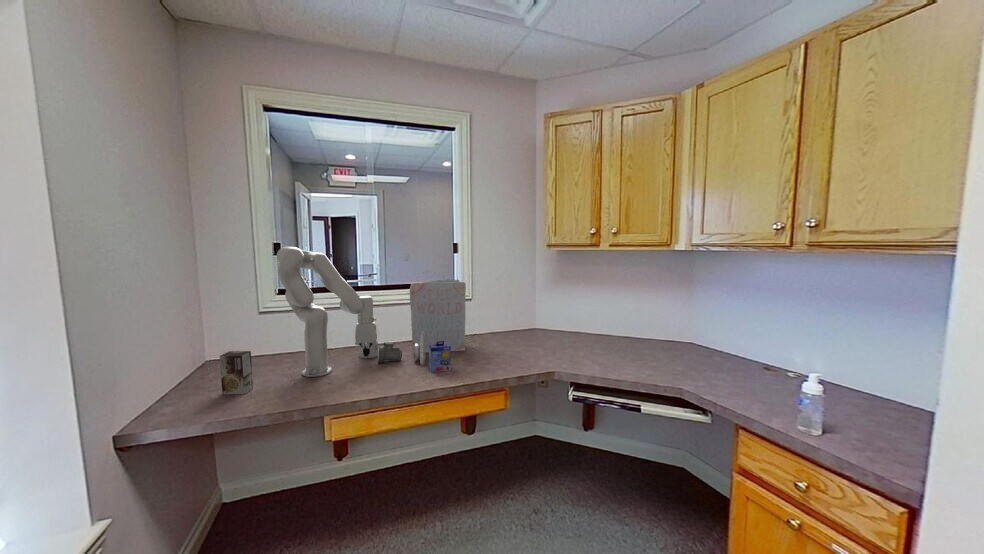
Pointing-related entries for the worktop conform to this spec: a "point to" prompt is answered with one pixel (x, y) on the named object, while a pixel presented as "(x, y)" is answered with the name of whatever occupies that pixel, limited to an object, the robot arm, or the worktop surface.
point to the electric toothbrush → (373, 351)
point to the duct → (420, 349)
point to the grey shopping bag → (438, 313)
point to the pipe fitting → (389, 353)
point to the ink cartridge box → (439, 357)
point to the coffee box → (236, 372)
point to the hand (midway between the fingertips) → (366, 355)
